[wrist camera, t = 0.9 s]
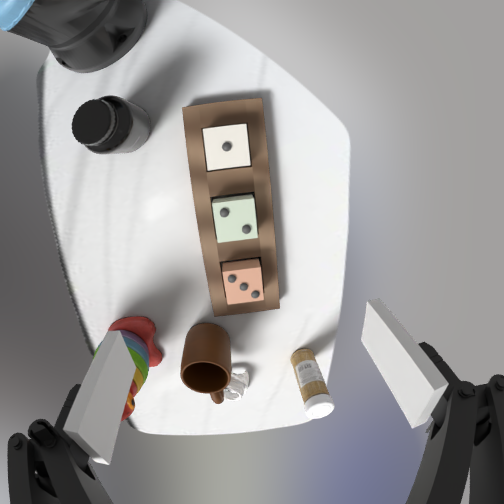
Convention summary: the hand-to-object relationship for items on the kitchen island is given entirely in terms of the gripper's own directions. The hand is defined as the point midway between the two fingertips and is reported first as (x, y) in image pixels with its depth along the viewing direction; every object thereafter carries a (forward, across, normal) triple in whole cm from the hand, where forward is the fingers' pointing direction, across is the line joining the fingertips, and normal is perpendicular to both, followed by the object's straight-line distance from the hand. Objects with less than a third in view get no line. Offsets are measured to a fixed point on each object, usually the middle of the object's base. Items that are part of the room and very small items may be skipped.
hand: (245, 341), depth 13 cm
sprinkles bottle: (+26, +9, -28) cm, 39 cm away
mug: (+26, -7, -23) cm, 35 cm away
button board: (+26, 0, 0) cm, 26 cm away
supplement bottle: (+27, -13, +14) cm, 33 cm away
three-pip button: (+25, 0, -9) cm, 26 cm away
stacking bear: (+26, -21, -20) cm, 39 cm away
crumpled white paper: (+26, -4, -32) cm, 42 cm away
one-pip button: (+25, 0, +9) cm, 26 cm away
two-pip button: (+25, 0, 0) cm, 25 cm away
